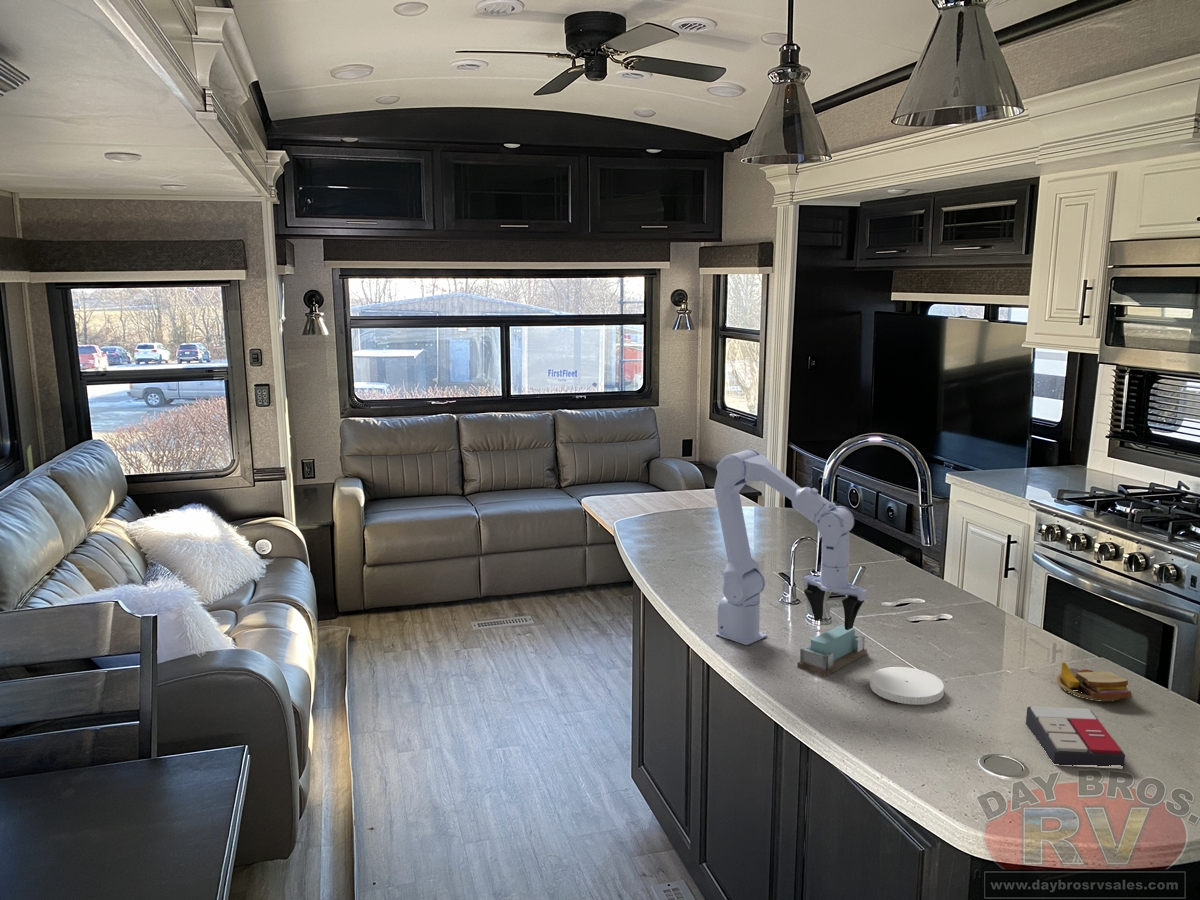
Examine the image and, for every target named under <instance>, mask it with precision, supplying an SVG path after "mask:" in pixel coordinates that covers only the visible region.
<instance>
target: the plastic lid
mask: <svg viewBox="0 0 1200 900" xmlns="http://www.w3.org/2000/svg"><path fill="white" fill-rule="evenodd" d="M869 686H870V689H871V690H872V692H874V693H875V694H876V695H878V696H879V697H880V698H883V699H885V700H888V701H891V702H895V703H899V704H900V703H901V704H904V705H914V706H916V705H919V706H920V705H929V704H933V703H936V702H938V701H940V700H941V699H942V698H944V694H945V685H944V682H943V681H942V679H941V678H939V677H938V676H937V675H934V674H933V673H931V672H929V671H925V670H921V669H918V668H914V667H913V668H912V667H906V666H904V667H903V666H892V667H890V666H888V667H884V668H882V667H881V668H880V669H876V670H875V671H874V672H872V673H871V674H870V677H869Z"/></svg>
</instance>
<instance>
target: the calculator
mask: <svg viewBox="0 0 1200 900" xmlns="http://www.w3.org/2000/svg"><path fill="white" fill-rule="evenodd" d="M1025 725H1026V726H1027V728H1028V730H1029V731H1030V730H1031V731H1030V732H1031V734H1032V733H1033V734H1032V735H1034V737H1035V739H1036V740H1037V742H1038V741H1039V742H1038V743H1039V744H1041V745H1040V747H1041V746H1042V747H1043V748H1044V750H1045V751H1046V753H1047V754H1046V753H1045V754H1046V756H1047V755H1048V756H1049V757H1048V756H1047V757H1048V758H1050V759H1051V760H1052V762H1053V763H1054V764H1059V765H1072V766H1073V765H1097V766H1109V765H1110V766H1111V765H1121V766H1124V767H1125V761H1126V754H1125V753H1124V751H1123V750H1122V749H1121V748H1120V746H1119V745H1118V744H1117V743H1116V741H1115V740H1114V738H1113V737H1112V736H1111V735H1110V733H1109V732H1108V730H1107V729H1106V728H1105V727H1104V725H1103V724H1102V723H1101V721H1100V720H1099V719H1098V717H1097V716H1096V715H1095V713H1094V712H1093V711H1092V710H1091V709H1090V708H1079V707H1078V708H1076V707H1059V706H1058V707H1056V706H1055V707H1054V706H1036V705H1033V706H1028V707H1026V716H1025ZM1042 747H1041V748H1042ZM1043 748H1042V749H1043ZM1044 750H1043V751H1044ZM1045 751H1044V752H1045ZM1050 759H1049V760H1050ZM1051 760H1050V761H1051ZM1052 762H1051V763H1052ZM1053 763H1052V764H1053Z"/></svg>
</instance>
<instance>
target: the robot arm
mask: <svg viewBox="0 0 1200 900" xmlns="http://www.w3.org/2000/svg"><path fill="white" fill-rule="evenodd" d="M716 471H717V473H716V474H717V475H716V478H715V483H714V488H713V489H714V495H715V500H716V505H717V510H718V511H717V512H718V515H719V521H720V525H721V533H722V536H723V542H724V546H725V553H726V558H727V564H726V567H725V568H724V570H723V584H722V593H723V595H724V596H723V597H722V598H721V599H720V600H719V602H718V603H719V604H718V606H717V631H716V632H715V636H718V635H719V637H721V638H724V639H727V640H729V639H730V641H733V642H736V643H738V644H741V645H744V646H749V645H751V644H753V643H755V642H757V641H759V640H761V639H764V638H766V637H768V634H767V633H766V632H762V631H760V621H761V619H760V616H761V615H760V608H761V605H760V603H761V602H760V601H761V600H760V599H761V593H762V592H764V590H765V587H766V580H765V576H764V575H763V573H762V572H761V570H760V567H759V566H760V565H759V563H758V561H756V560H755V559H753V557H752V553H751V548H750V543H749V538H748V532H747V527H746V522H745V516H744V511H743V506H742V501H741V496H740V491H741V490H742V489H743V487H745V485H746V484H747V482H763V483H764V484H766V485H767V486H768V487H771V488H772V489H773V490H776V491H777V492H778V493H779V494H782V495H783V496H785V497H786V498H788V499H789V500H790V501H791V505H792V508H793V509H794V510H795V511H797V512H798V513H800V515H802V516H803V517H805V518H806V519H807V520H809V521H810V522H812V523H813V524H814V525H816V527H817V531H818V532H819V534H820V536H821V555H820V556H821V563H820V567H821V568H820V576H815V575H814V576H813V575H805V576H804V577H802V578H803V580H802V583H803V584H802V585H803V587H804V586H805V587H806V588H805V589H804V591H803V592H804V593H803V594H804V595H805V597H806V598H807V600H808V602H809V605H810V609H811V611H812V615H813V619H814V621H816V622H819V621H820V620H822V619H823V615H824V613H823V612H824V600H825V594H826V593H827V592H828V593H829V592H831V593H835V594H838V595H842V596H847V597H845V598H844V599H842V600H841V603H842V607H843V612H844V624H843V625H844V626H845V630H849V629H851V628H854V623H855V620H856V617H857V614H858V613H859V610H860V608H861V607H862V605H863V603H864V602H865V600H867V599H868V598H867V597H868V596H867V595H868V589H865V588H861V587H859V586H857V585H854V584H852V583H850V582H849V567H850V531H852V529H853V528H854V526H855V517H854V514H853V512H852V511H850V510H849V508H848V507H846V506H843V505H836V503H835V502H833V501H829V500H828V499H826V498H825V497H823V496H822V495H821V494H819V490H818V489H817V488H816V487H813V488H811V486H810V487H809V486H805V487H801V486H800V485H798V484H797V483H796V482H795V481H793V480H792V479H791V478H790V477H788V476H787V475H785V473H783V472H782V471H781V470H780V469H778V468H777V467H776V466H774V465H773V463H771V462H770V461H769V459H768V457H767V456H765V455H763V454H760V452H759V451H758V450H756V449H754V448H747V449H744V450H742V451H739V452H735V453H732V454H731V453H730V454H726V455H725V456H724V457H722V458H721V459H720V460H719V462H718V463H717V464H716Z"/></svg>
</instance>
